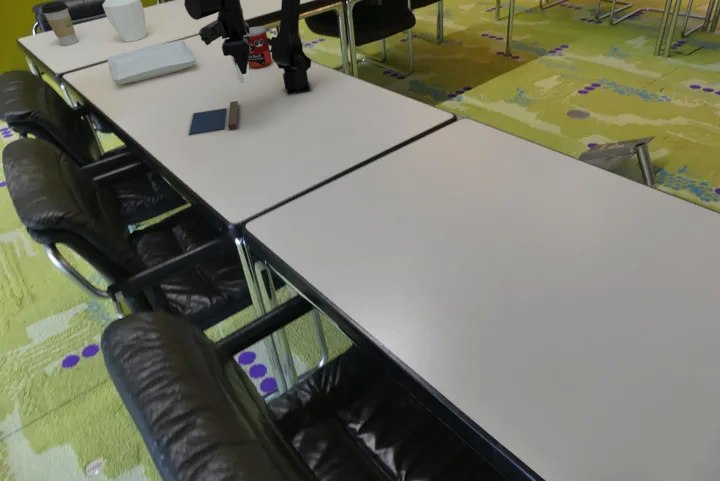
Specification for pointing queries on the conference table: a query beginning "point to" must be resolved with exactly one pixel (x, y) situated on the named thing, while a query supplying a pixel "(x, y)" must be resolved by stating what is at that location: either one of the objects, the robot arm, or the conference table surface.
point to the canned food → (258, 48)
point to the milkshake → (241, 77)
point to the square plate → (150, 62)
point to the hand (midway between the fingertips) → (244, 71)
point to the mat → (208, 121)
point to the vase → (126, 18)
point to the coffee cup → (60, 22)
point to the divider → (233, 115)
